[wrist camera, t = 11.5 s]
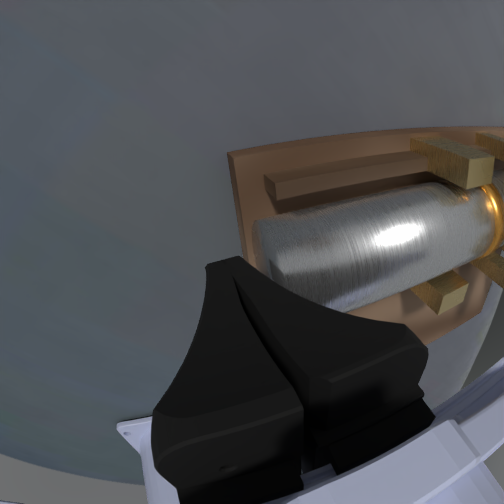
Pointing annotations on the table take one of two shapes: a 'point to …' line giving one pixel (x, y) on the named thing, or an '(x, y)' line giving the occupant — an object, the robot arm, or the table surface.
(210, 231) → the table surface
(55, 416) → the table surface
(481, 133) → the tan blocks
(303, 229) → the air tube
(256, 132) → the table surface
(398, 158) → the stand board
